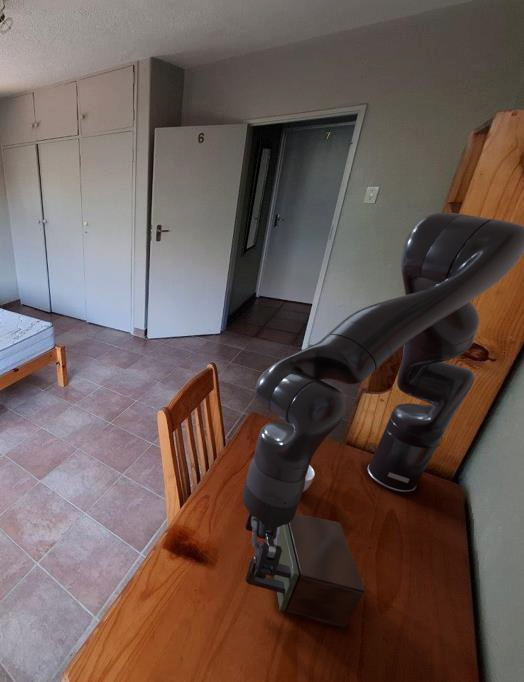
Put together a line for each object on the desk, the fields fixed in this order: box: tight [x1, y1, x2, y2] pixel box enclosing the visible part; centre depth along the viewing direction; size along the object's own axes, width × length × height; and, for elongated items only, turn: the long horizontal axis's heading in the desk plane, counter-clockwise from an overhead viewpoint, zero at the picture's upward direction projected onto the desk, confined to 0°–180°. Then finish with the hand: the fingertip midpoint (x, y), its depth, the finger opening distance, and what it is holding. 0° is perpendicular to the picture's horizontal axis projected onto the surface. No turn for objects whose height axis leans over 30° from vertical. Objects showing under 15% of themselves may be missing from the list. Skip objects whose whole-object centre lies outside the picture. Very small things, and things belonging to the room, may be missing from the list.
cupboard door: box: [245, 524, 299, 612], centre depth 69 cm, size 7×13×11 cm, turn 162°
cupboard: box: [285, 512, 366, 630], centre depth 67 cm, size 9×13×12 cm
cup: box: [303, 464, 316, 493], centre depth 87 cm, size 8×10×7 cm
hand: (254, 551), depth 63 cm, fingers open, 8 cm apart
